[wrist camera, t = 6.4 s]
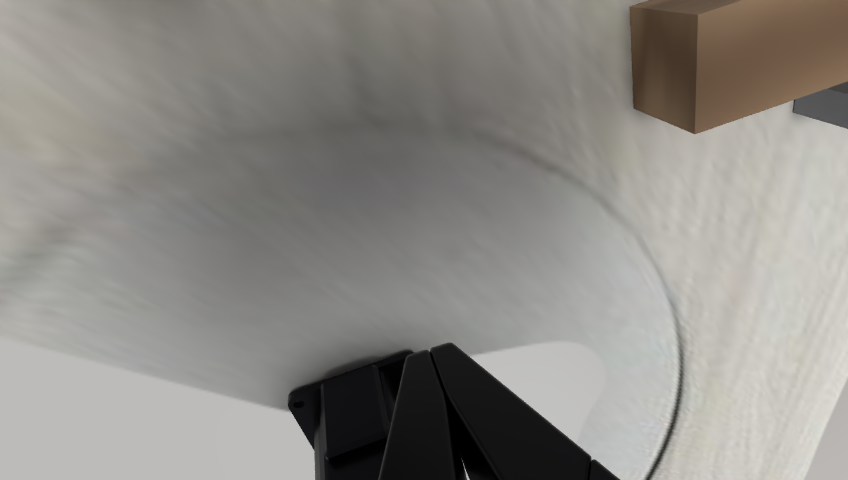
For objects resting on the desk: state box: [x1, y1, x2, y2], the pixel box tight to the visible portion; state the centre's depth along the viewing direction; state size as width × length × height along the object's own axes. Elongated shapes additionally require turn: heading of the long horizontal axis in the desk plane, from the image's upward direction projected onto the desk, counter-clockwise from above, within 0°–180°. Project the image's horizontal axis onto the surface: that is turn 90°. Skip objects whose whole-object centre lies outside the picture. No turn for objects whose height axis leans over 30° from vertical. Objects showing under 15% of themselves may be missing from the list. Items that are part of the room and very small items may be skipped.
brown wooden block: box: [630, 0, 848, 134], centre depth 19 cm, size 4×12×4 cm, turn 105°
